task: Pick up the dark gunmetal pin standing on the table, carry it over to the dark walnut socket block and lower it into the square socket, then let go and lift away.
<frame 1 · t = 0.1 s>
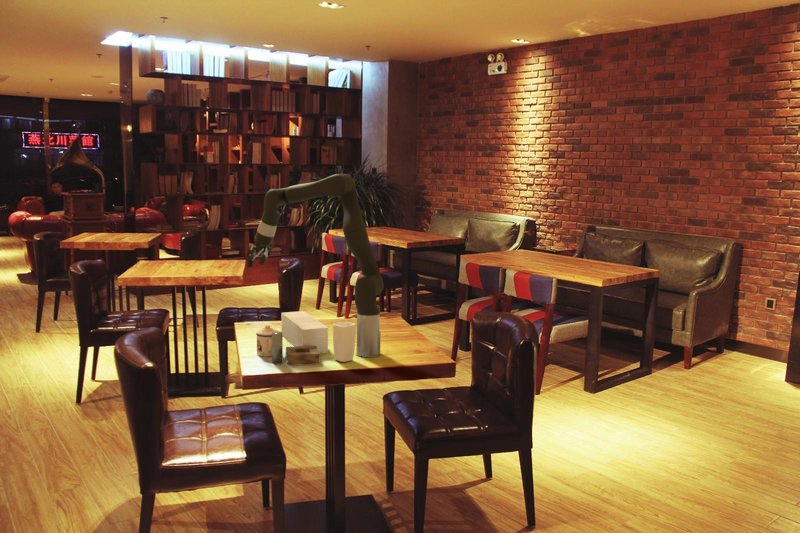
hand: (255, 265, 306), 31 cm above the table, tool tilted 20°, fingers open, 8 cm apart
teacup with lid: (268, 355, 282), on the table
metal pin: (277, 362, 272), on the table
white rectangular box: (303, 344, 300), on the table
socket block: (302, 360, 276), on the table
cup: (343, 361, 277), on the table
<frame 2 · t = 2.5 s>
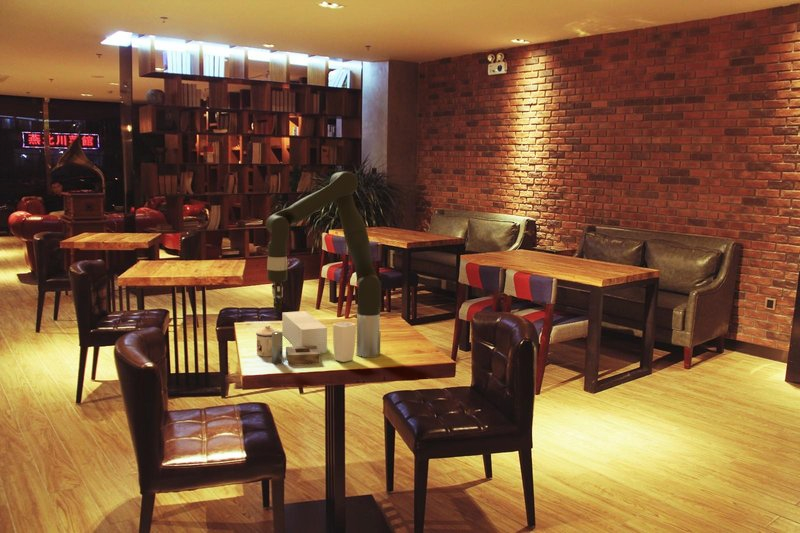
hand: (277, 309, 268), 21 cm above the table, tool pointing down, fingers open, 8 cm apart
nothing on the table moved.
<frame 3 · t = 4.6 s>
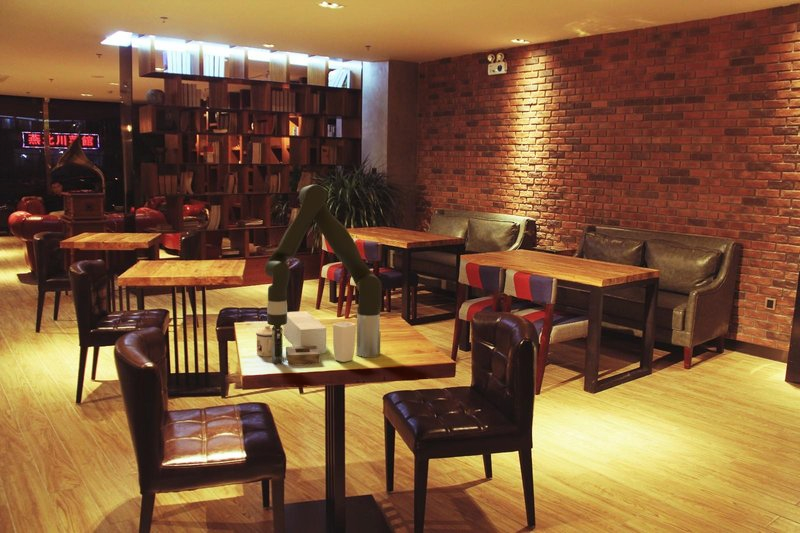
hand: (277, 354, 271), 3 cm above the table, tool pointing down, fingers closed on metal pin, 4 cm apart
metal pin: (277, 362, 272), on the table, touching gripper
everything else where it was.
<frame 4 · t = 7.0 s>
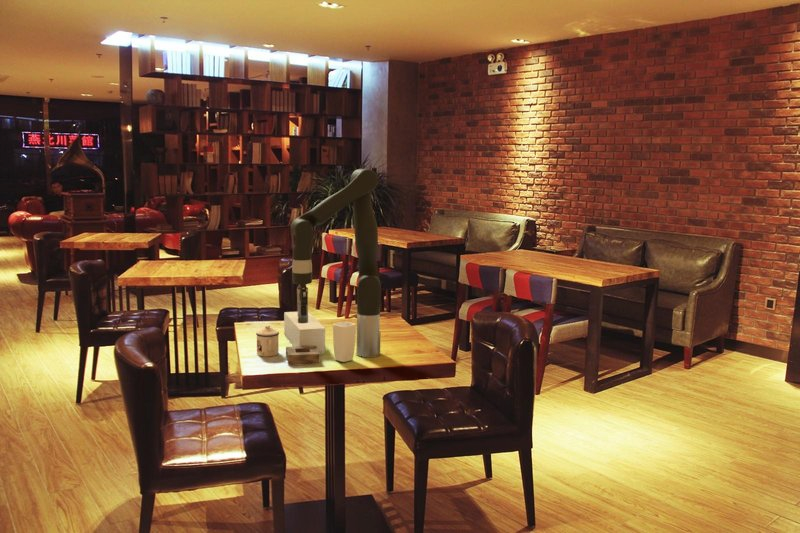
hand: (302, 314, 273), 19 cm above the table, tool pointing down, fingers closed on metal pin, 4 cm apart
metal pin: (303, 322, 273), point 15 cm above the table, touching gripper
everything else where it was.
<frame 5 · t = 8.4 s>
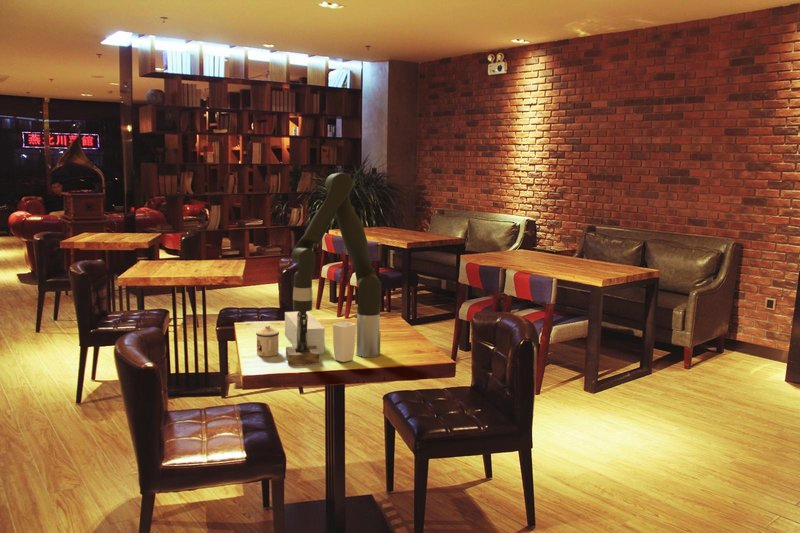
hand: (302, 340, 275), 8 cm above the table, tool pointing down, fingers closed on metal pin, 4 cm apart
metal pin: (301, 348, 275), point 5 cm above the table, touching gripper
everything else where it was.
when the fingers open (5 cm above the table, at t = 9.4 s): metal pin drops 1 cm, resting in socket block.
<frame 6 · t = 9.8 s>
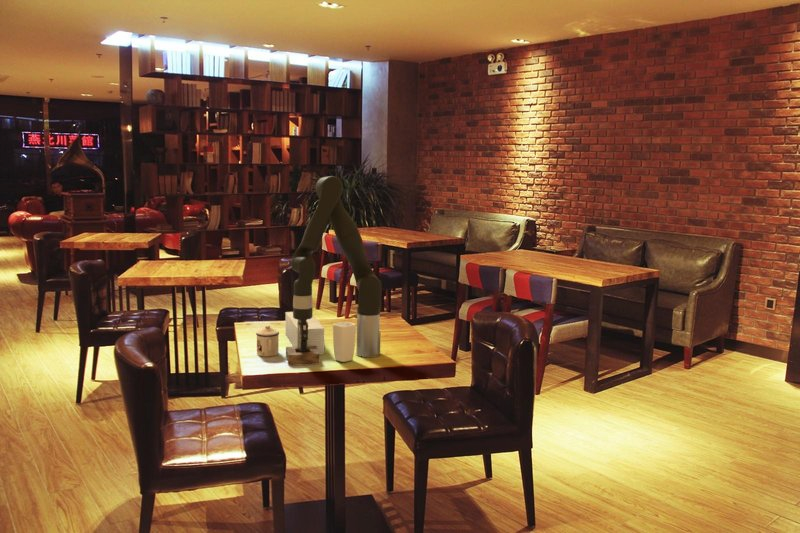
hand: (302, 346, 275), 5 cm above the table, tool pointing down, fingers open, 7 cm apart
metal pin: (302, 360, 276), resting in socket block
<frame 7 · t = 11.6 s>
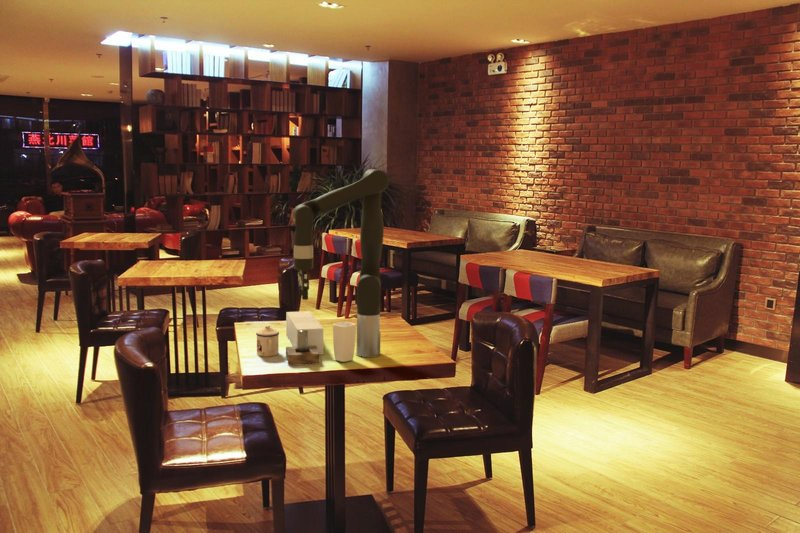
hand: (303, 297, 274), 25 cm above the table, tool pointing down, fingers open, 8 cm apart
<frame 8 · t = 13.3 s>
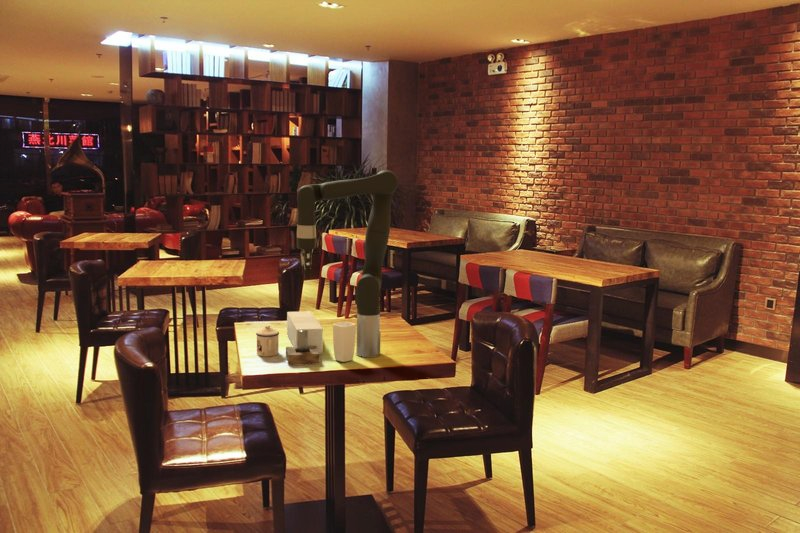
hand: (306, 276, 278), 32 cm above the table, tool pointing down, fingers open, 8 cm apart
at the end: metal pin 0.0 cm off-centre on the socket block, point 0.0 cm above the socket block's base; metal pin tilted 0°; the gripper is holding nothing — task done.
